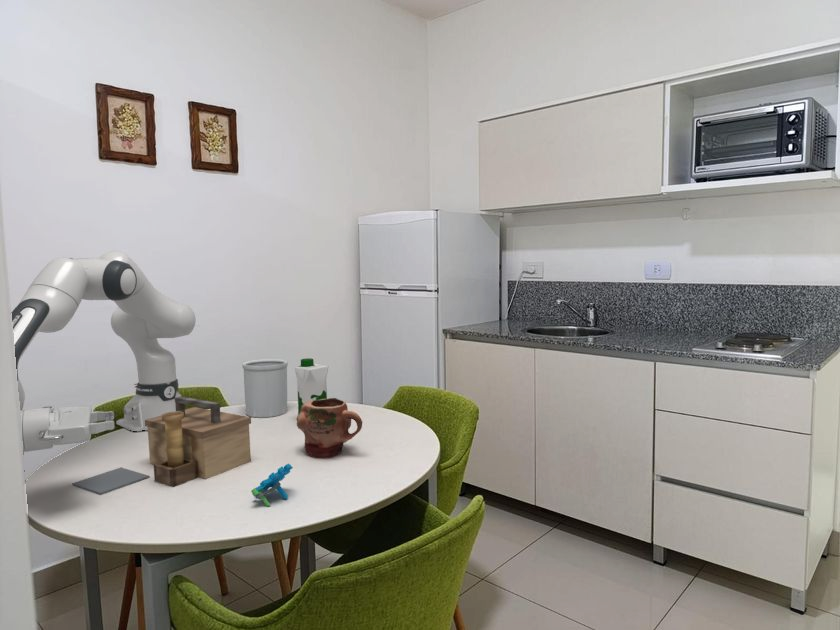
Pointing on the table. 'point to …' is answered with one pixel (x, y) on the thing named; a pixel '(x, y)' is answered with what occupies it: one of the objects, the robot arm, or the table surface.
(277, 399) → the utensil holder
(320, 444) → the pink ceramic mug
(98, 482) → the mat
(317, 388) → the milk carton
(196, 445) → the toolbox
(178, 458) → the tan cylinder
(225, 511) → the table surface
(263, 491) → the gear
